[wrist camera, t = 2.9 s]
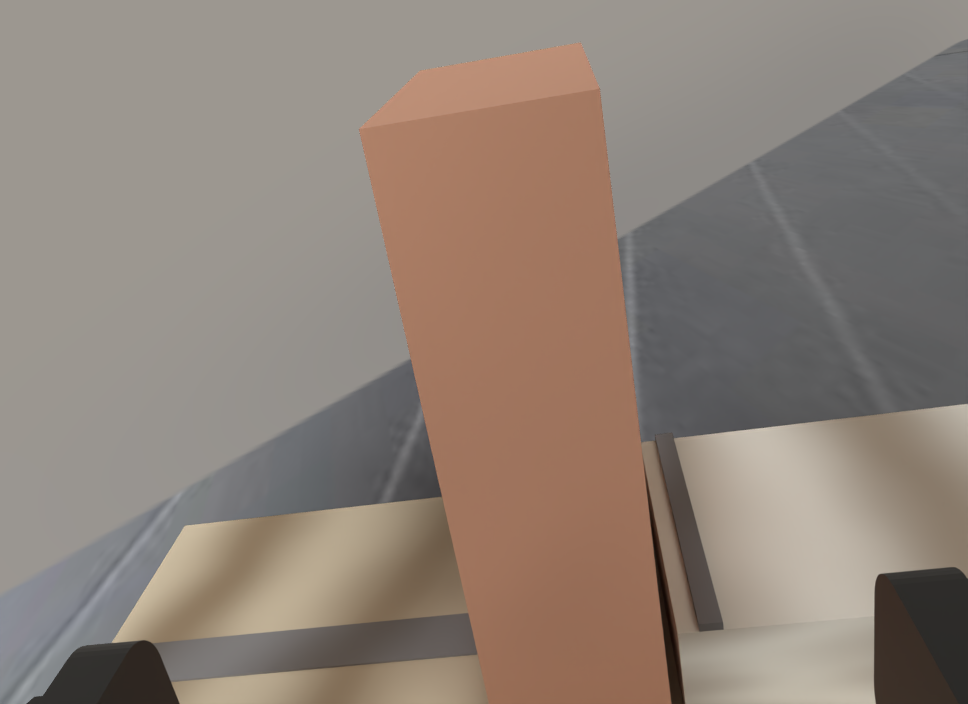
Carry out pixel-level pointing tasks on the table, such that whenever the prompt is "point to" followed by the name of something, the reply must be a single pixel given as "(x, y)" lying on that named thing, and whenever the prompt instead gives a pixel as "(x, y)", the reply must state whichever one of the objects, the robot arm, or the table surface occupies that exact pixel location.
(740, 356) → the table surface
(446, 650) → the wooden base board
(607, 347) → the salmon orange block
